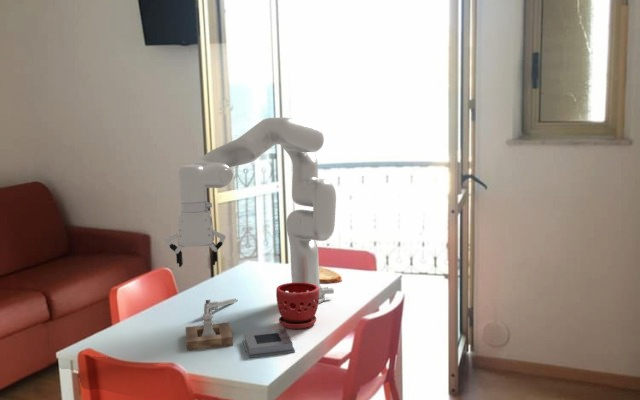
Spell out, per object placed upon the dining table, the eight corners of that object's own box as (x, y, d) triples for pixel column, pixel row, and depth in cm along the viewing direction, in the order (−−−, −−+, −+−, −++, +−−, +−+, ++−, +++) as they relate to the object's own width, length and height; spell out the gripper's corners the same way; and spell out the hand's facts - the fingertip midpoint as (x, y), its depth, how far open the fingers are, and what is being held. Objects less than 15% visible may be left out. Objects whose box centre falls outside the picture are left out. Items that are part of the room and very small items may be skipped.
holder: (286, 336, 201) (286, 328, 200) (294, 352, 188) (294, 343, 188) (242, 341, 198) (242, 333, 198) (248, 358, 185) (247, 349, 185)
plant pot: (305, 334, 202) (303, 295, 200) (269, 327, 209) (267, 289, 207) (328, 320, 213) (326, 283, 211) (293, 315, 220) (291, 279, 218)
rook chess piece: (202, 338, 202) (200, 312, 201) (217, 337, 203) (215, 311, 201) (200, 343, 198) (198, 317, 197) (216, 342, 198) (214, 316, 197)
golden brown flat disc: (342, 284, 254) (342, 274, 254) (294, 285, 254) (294, 276, 254) (341, 271, 272) (341, 262, 271) (296, 273, 272) (296, 264, 272)
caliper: (207, 320, 219) (206, 301, 218) (204, 320, 219) (203, 301, 218) (238, 301, 238) (236, 284, 237) (235, 301, 238) (234, 283, 237)
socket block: (229, 330, 208) (228, 322, 207) (233, 345, 195) (232, 336, 195) (186, 335, 205) (185, 327, 205) (187, 350, 193) (186, 342, 192)
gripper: (224, 204, 202) (227, 260, 204) (165, 206, 201) (169, 263, 203) (223, 208, 195) (226, 266, 197) (161, 210, 193) (165, 269, 196)
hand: (197, 264), depth 200 cm, fingers open, 9 cm apart
